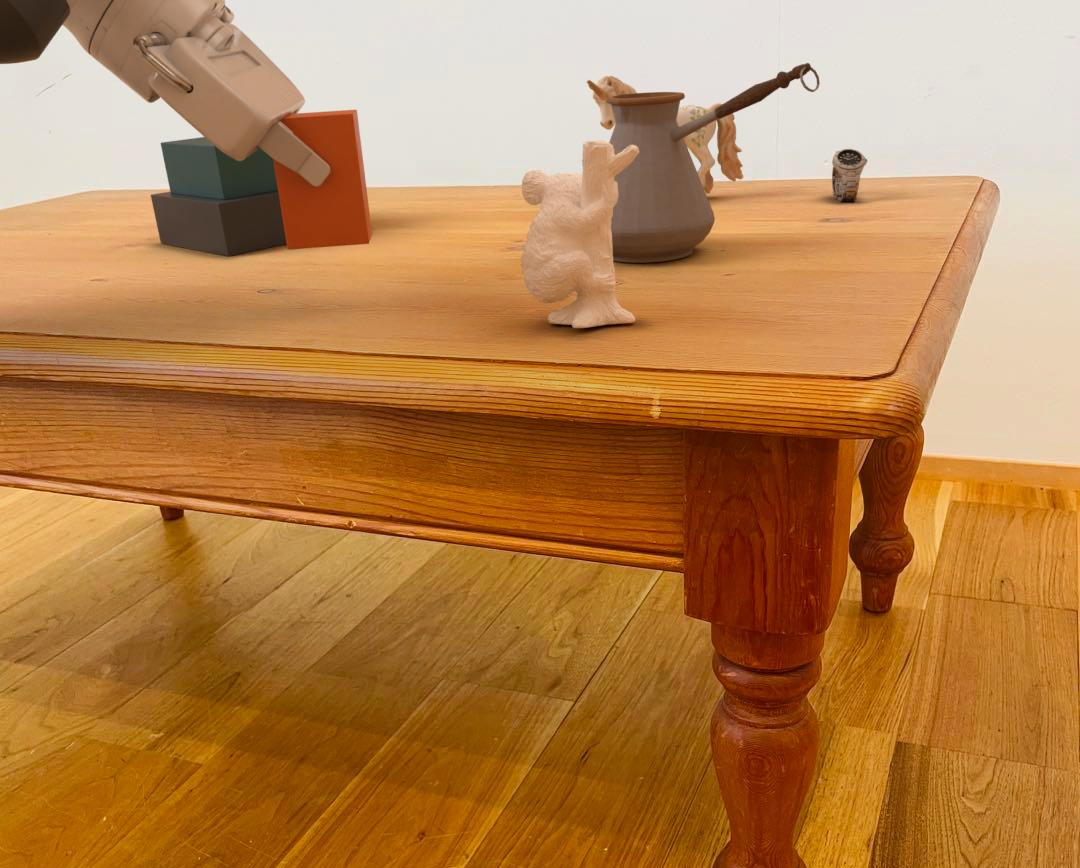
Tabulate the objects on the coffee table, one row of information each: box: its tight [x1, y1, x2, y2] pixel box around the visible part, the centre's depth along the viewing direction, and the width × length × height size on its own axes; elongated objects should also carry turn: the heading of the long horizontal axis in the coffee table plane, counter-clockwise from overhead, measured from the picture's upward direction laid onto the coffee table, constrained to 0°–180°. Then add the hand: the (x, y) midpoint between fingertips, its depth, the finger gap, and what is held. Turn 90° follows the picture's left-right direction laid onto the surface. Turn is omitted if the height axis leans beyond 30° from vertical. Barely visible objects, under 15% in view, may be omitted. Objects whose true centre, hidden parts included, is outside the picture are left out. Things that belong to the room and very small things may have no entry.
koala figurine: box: [520, 139, 639, 329], centre depth 71 cm, size 8×7×12 cm
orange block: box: [273, 109, 373, 251], centre depth 79 cm, size 6×4×9 cm, turn 94°
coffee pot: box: [606, 62, 821, 263], centre depth 87 cm, size 21×12×15 cm, turn 47°
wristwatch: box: [831, 148, 868, 203], centre depth 112 cm, size 4×6×5 cm, turn 178°
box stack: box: [150, 136, 287, 257], centre depth 112 cm, size 16×14×10 cm
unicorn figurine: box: [586, 75, 744, 195], centre depth 114 cm, size 7×20×13 cm, turn 117°
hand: (329, 173), depth 79 cm, fingers closed on orange block, 3 cm apart
